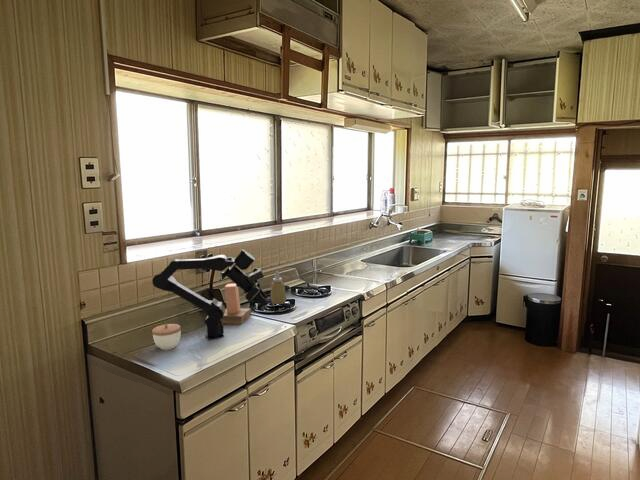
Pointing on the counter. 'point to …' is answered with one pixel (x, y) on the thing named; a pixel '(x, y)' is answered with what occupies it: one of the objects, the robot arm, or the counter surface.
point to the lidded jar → (167, 336)
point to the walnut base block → (236, 316)
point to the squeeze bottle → (278, 290)
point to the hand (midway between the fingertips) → (267, 301)
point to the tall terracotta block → (232, 298)
